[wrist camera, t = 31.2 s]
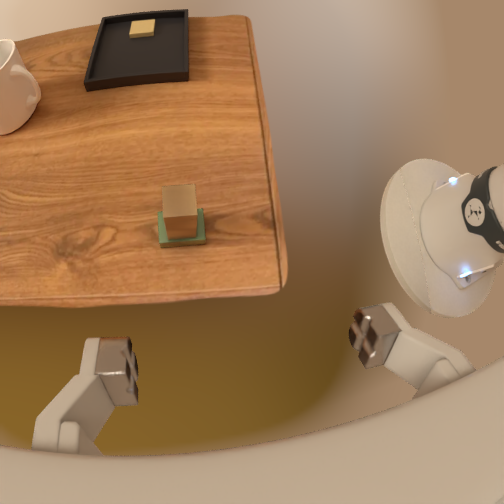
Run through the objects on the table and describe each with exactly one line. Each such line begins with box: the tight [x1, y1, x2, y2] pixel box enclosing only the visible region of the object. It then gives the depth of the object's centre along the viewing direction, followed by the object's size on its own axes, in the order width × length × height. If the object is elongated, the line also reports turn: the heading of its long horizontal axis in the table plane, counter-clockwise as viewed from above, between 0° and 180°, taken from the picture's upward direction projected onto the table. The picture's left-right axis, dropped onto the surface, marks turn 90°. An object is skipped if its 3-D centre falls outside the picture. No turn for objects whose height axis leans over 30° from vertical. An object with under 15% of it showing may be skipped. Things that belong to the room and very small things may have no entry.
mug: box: [0, 39, 41, 135], centre depth 30 cm, size 10×12×12 cm
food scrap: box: [129, 19, 155, 38], centre depth 42 cm, size 4×4×1 cm
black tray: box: [84, 9, 189, 91], centre depth 41 cm, size 15×17×2 cm
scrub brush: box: [158, 184, 206, 248], centre depth 32 cm, size 5×4×9 cm
